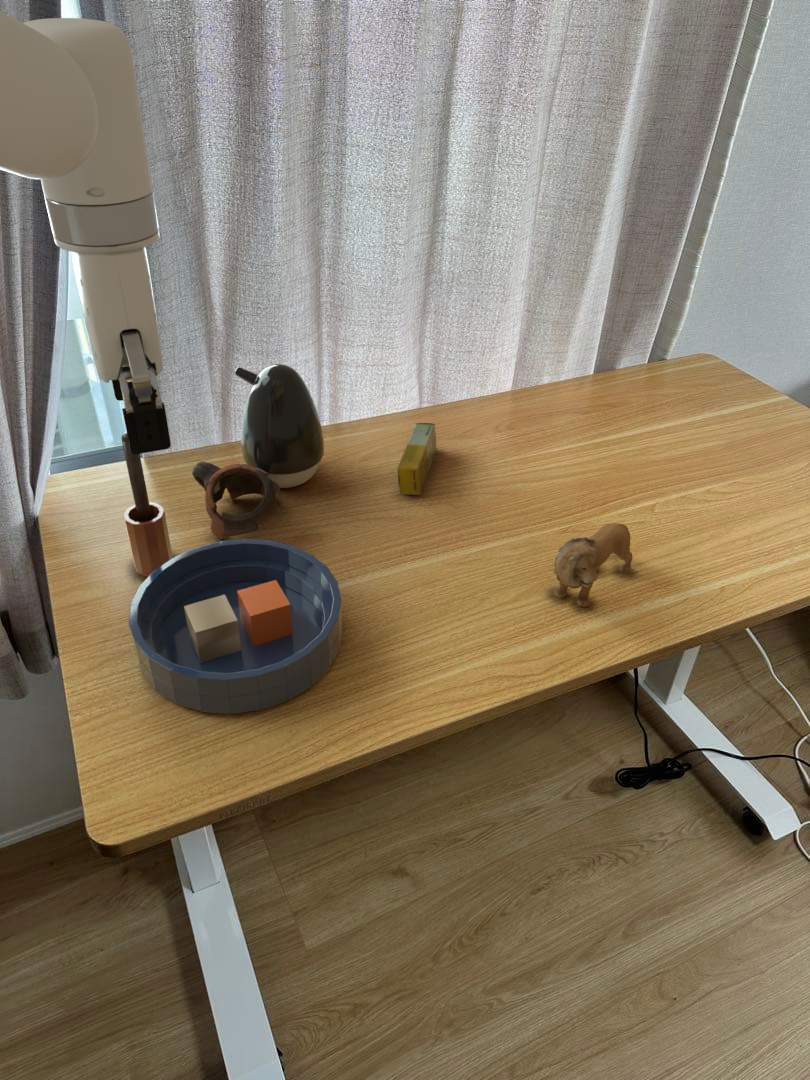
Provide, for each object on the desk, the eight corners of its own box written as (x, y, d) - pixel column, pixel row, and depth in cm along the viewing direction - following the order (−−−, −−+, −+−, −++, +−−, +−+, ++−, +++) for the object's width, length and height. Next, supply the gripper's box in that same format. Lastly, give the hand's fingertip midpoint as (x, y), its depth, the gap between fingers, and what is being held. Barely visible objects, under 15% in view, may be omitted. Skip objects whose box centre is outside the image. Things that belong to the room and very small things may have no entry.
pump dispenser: (258, 450, 107) (249, 343, 98) (334, 461, 106) (332, 353, 97) (230, 492, 99) (217, 379, 90) (311, 504, 98) (306, 391, 89)
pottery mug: (300, 506, 98) (294, 476, 91) (257, 569, 95) (247, 544, 87) (218, 461, 100) (206, 428, 92) (173, 521, 97) (156, 492, 89)
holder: (139, 581, 86) (128, 528, 81) (131, 559, 88) (120, 507, 84) (177, 571, 87) (168, 518, 83) (168, 550, 90) (158, 498, 86)
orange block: (253, 646, 78) (250, 616, 75) (240, 620, 80) (237, 590, 78) (292, 634, 79) (290, 604, 77) (278, 609, 82) (276, 579, 80)
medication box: (417, 448, 109) (416, 421, 107) (437, 449, 109) (436, 422, 107) (398, 494, 100) (396, 466, 98) (420, 496, 99) (418, 467, 97)
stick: (148, 566, 87) (121, 437, 77) (145, 559, 88) (118, 430, 78) (161, 563, 87) (136, 434, 77) (158, 555, 88) (133, 427, 78)
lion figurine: (580, 633, 82) (596, 565, 76) (534, 611, 84) (546, 543, 79) (639, 562, 91) (657, 496, 86) (596, 544, 94) (611, 479, 88)
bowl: (166, 747, 69) (157, 708, 66) (119, 607, 82) (109, 569, 79) (374, 675, 76) (374, 637, 73) (299, 557, 90) (297, 521, 87)
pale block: (200, 663, 76) (195, 632, 73) (189, 636, 79) (183, 605, 76) (241, 650, 77) (237, 620, 75) (229, 624, 80) (224, 594, 78)
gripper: (42, 191, 64) (86, 385, 75) (59, 261, 52) (109, 482, 62) (139, 185, 67) (168, 374, 77) (177, 250, 54) (206, 465, 65)
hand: (142, 422), depth 70 cm, fingers open, 9 cm apart
